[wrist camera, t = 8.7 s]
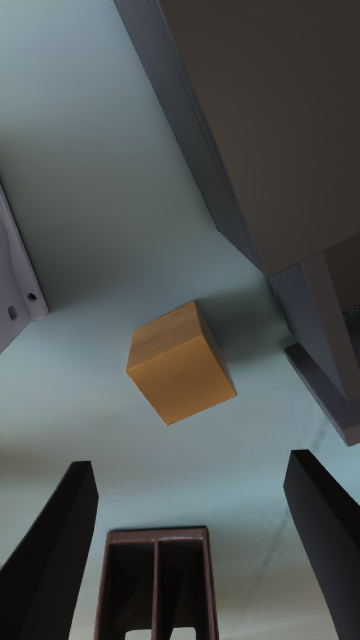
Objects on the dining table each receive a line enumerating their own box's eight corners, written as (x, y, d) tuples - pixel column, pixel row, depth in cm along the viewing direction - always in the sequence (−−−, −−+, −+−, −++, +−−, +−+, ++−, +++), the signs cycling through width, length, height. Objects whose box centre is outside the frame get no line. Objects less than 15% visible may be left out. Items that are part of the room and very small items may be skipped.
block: (223, 351, 19) (238, 395, 15) (166, 378, 20) (167, 426, 16) (194, 299, 18) (202, 334, 14) (133, 330, 18) (124, 371, 14)
